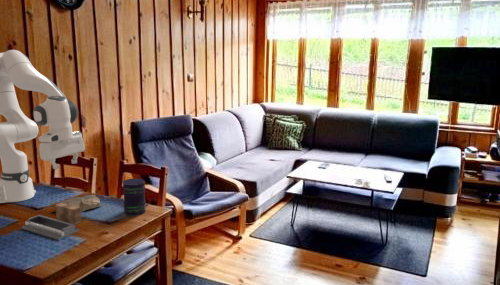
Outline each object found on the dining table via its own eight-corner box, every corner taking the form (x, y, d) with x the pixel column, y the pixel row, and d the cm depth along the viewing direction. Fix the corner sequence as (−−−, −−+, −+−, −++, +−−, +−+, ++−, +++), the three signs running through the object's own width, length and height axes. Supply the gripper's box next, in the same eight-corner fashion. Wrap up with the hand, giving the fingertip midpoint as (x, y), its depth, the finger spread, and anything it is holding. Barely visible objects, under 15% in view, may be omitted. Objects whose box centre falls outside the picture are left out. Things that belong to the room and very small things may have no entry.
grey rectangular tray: (22, 228, 169) (21, 221, 168) (43, 220, 178) (42, 213, 177) (58, 240, 160) (57, 232, 159) (79, 230, 168) (78, 223, 168)
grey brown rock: (59, 217, 182) (104, 207, 194) (58, 207, 181) (103, 198, 193) (52, 208, 193) (95, 199, 205) (51, 199, 192) (94, 190, 204)
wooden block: (55, 220, 179) (53, 205, 177) (62, 217, 182) (61, 202, 180) (74, 225, 173) (73, 210, 172) (81, 222, 177) (80, 207, 175)
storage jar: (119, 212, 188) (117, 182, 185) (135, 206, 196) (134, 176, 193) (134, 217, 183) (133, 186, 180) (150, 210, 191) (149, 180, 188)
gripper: (76, 130, 182) (79, 159, 185) (35, 138, 164) (39, 171, 167) (86, 130, 179) (89, 161, 182) (45, 139, 161) (49, 172, 164)
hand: (65, 166), depth 174 cm, fingers open, 8 cm apart
